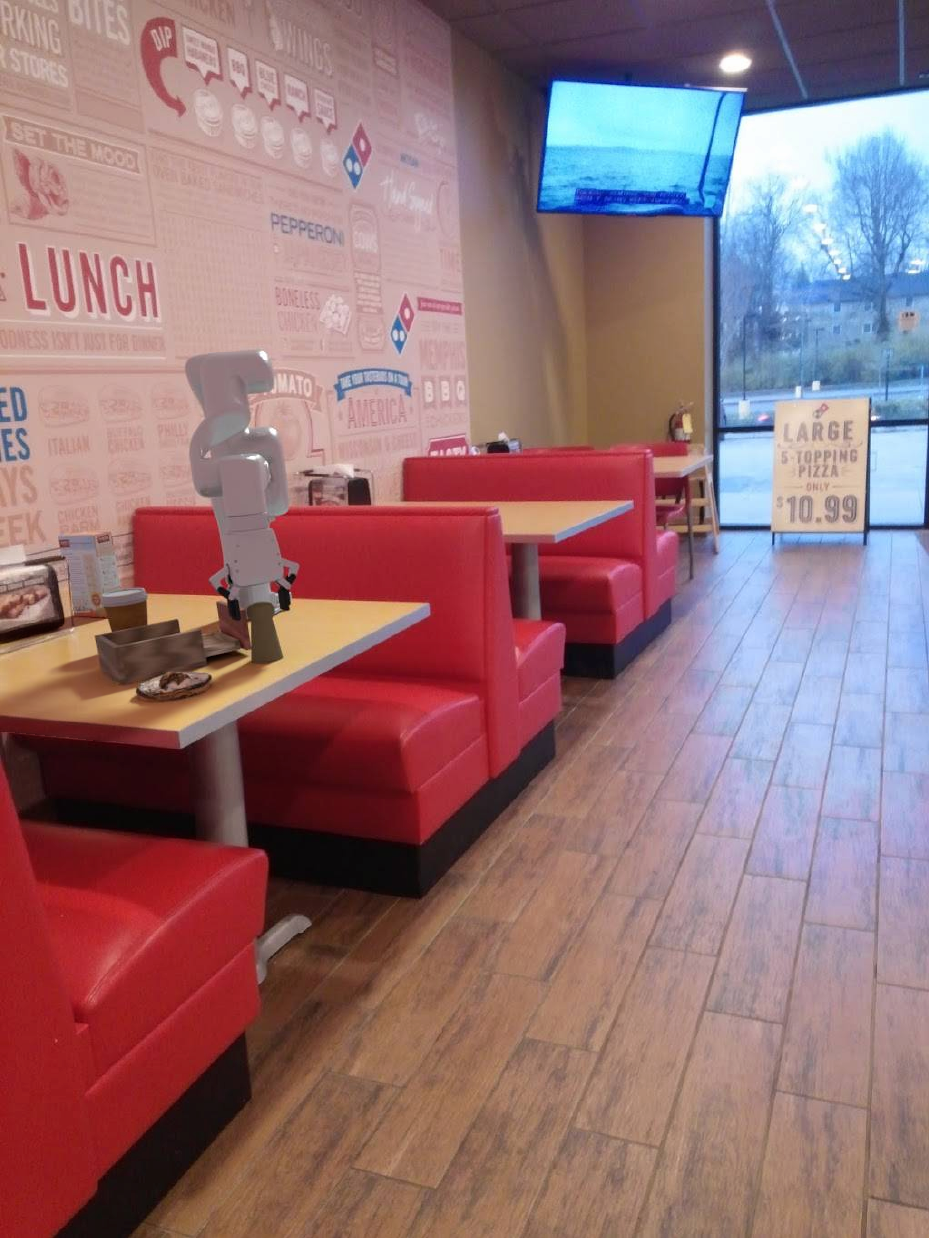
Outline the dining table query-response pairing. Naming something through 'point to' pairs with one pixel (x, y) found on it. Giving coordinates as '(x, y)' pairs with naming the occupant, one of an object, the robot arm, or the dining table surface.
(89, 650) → the dining table surface
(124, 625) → the disposable coffee cup
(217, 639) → the drawer
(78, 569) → the cracker box
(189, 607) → the dining table surface
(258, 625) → the olive green pawn
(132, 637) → the caddy
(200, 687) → the pie
